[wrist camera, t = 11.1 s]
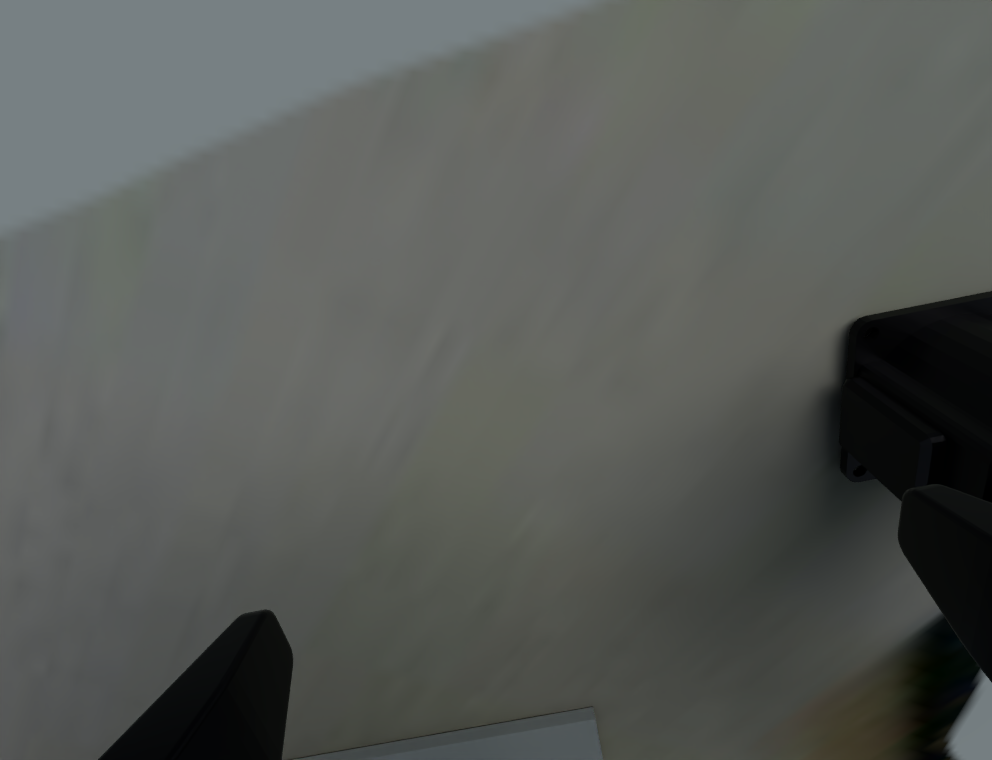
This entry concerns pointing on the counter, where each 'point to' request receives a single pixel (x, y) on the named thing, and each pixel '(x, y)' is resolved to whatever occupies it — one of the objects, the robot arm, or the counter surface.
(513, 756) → the slate pad
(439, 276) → the counter surface
